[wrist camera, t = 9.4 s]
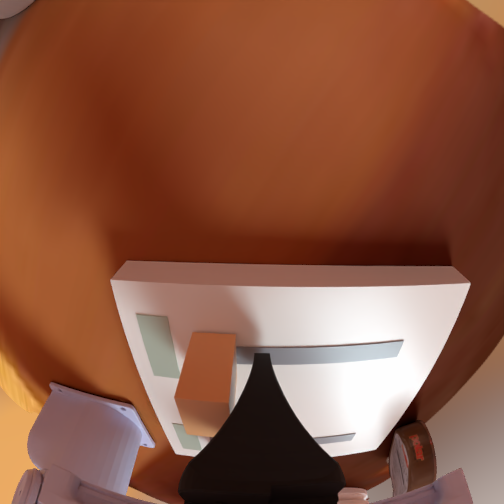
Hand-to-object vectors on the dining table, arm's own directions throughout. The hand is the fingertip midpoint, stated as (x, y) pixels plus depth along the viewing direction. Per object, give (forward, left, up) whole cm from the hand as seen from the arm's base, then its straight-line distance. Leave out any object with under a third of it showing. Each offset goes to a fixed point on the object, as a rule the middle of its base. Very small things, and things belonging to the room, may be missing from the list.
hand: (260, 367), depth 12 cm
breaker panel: (+2, -5, -3) cm, 6 cm away
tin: (+16, -18, -3) cm, 24 cm away
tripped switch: (-2, 0, -1) cm, 2 cm away
